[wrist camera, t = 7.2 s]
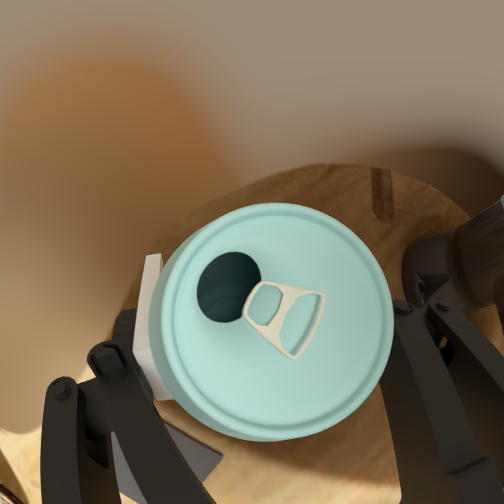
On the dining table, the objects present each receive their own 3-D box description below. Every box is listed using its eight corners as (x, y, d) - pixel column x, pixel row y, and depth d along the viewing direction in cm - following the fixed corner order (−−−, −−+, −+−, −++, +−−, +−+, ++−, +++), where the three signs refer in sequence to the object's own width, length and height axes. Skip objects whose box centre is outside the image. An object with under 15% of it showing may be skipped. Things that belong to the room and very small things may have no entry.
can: (191, 396, 15) (163, 482, 4) (176, 290, 17) (129, 190, 6) (297, 378, 17) (426, 407, 5) (279, 278, 19) (374, 179, 8)
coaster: (126, 393, 23) (124, 394, 23) (222, 454, 23) (223, 456, 22) (81, 460, 19) (79, 462, 18) (169, 515, 18) (169, 519, 17)
